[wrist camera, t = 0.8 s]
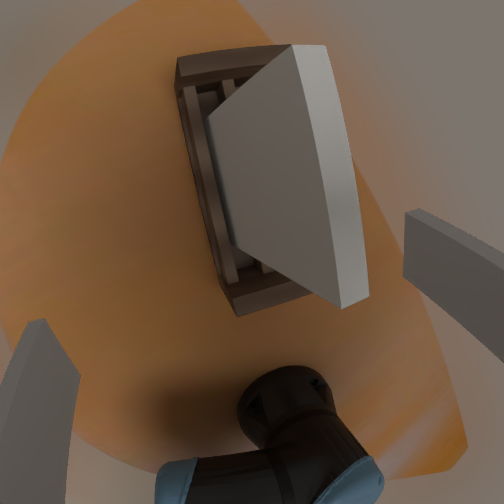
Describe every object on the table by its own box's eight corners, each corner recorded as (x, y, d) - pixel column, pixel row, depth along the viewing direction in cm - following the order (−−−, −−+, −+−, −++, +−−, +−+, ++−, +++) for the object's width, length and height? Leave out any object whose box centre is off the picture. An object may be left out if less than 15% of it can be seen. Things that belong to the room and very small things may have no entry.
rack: (302, 262, 42) (337, 284, 33) (220, 286, 40) (237, 317, 31) (263, 71, 35) (291, 44, 26) (174, 85, 33) (177, 57, 24)
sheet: (244, 237, 38) (369, 296, 18) (228, 242, 37) (341, 309, 17) (218, 119, 34) (325, 45, 14) (201, 122, 33) (291, 44, 13)
